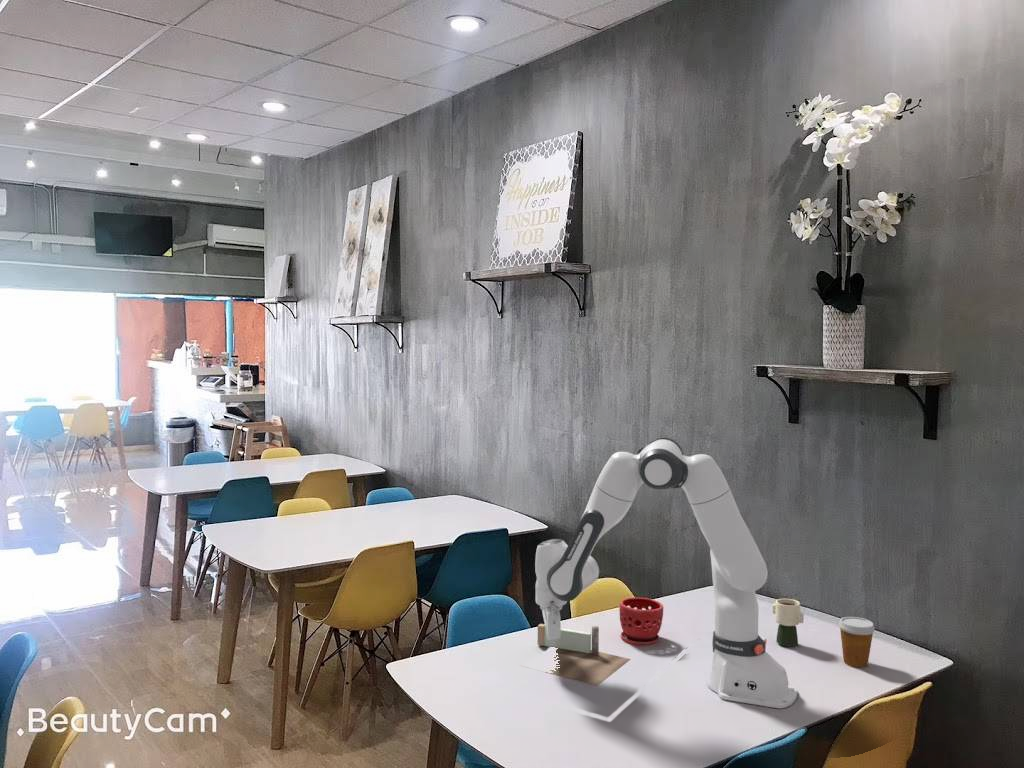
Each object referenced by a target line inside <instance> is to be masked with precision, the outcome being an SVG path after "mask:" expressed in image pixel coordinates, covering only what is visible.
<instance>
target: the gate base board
mask: <svg viewBox="0 0 1024 768" xmlns="http://www.w3.org/2000/svg"><path fill="white" fill-rule="evenodd" d="M599 632H600V631H599V626H596V625H593V626H591V652H590V653H585V652H579V651H573V650H567V649H561V648H558V649H557V650H556V653H558V655H556V657H557V656H558V657H559V658H557V659H556V660H560V661H558V663H559V664H556V665H560V666H556V667H560V668H558V669H557V668H555V670H556V671H554V670H550V671H552V672H553V673H548V672H545V674H550V675H553V676H557V677H561V678H564V679H569V680H571V681H572V680H574V681H577V682H580V683H585V684H589V685H592V686H596V687H598V686H599V685H601V683H603V682H604V681H605V680H606V679H608V678H609V677H611V675H613V674H614V673H615V672H617V671H618V670H619V669H620V668H621V667H623V666H624V665H625V664H627V663H628V662H629V661H630V660H631V658H628V657H624V656H620V655H619V656H618V655H616V654H615V655H614V654H610V653H606V652H602V651H599V650H600V649H599V647H600V646H599V641H600V640H599V639H600V638H599V637H600V636H599V635H600V634H599ZM556 657H554V658H556ZM556 660H554V661H556Z"/></svg>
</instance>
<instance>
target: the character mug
mask: <svg viewBox="0 0 1024 768" xmlns="http://www.w3.org/2000/svg"><path fill="white" fill-rule="evenodd" d="M772 614H774V615H775V618H774V619H775V622H776V623H777V624H778V627H777V632H776V638H775V639H776V643H778V645H781V646H790V647H792V646H797V645H799V639H798V631H797V626H798V625H799V624H803V623H804V618H805V617H804V615H805V614H804V612H802V611H801V602H800V601H798V600H797V599H793V598H792V599H791V598H779V599H776V600H775V603H772Z"/></svg>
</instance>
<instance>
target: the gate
mask: <svg viewBox="0 0 1024 768" xmlns="http://www.w3.org/2000/svg"><path fill="white" fill-rule="evenodd" d="M537 646H542V647H555V648H561V649H567V650H573V651H579V652H585V653H590V652H591V650H592V632H587V631H582V630H574V629H568V628H564V627H563V628H562V627H561V638H560V640H555V646H549V642H548V638H547V633H546V628H545V623H539V624H538V625H537Z"/></svg>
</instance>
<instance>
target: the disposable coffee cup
mask: <svg viewBox="0 0 1024 768" xmlns="http://www.w3.org/2000/svg"><path fill="white" fill-rule="evenodd" d="M838 627H839V629H840V636H841V637H840V639H841V648H842V657H843V659H842V660H843V663H844V664H845V665H847V666H849V667H852V668H860V669H861V668H866V667H868V665H869V659H870V653H871V647H872V641H873V635H874V632H875V629H876V627H875V626H874V623H873V621H871V620H869V619H866V618H863V617H857V616H845V617H841V618H840V620H839V622H838Z"/></svg>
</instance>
